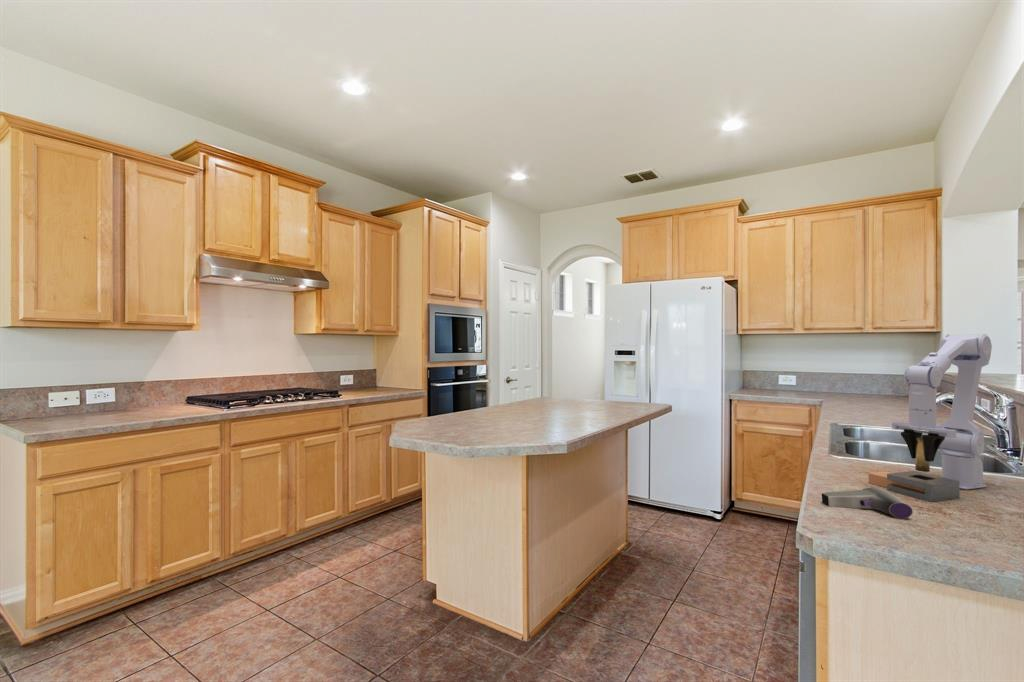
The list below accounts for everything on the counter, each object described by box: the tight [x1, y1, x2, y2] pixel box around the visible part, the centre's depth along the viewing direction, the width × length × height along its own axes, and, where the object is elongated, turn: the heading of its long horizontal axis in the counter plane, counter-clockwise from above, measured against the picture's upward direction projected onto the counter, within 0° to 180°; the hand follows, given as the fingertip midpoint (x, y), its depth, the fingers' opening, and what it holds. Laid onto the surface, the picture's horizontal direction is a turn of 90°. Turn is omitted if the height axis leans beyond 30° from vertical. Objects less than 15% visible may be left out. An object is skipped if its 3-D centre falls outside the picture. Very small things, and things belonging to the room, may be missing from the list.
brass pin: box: [914, 436, 931, 473], centre depth 133 cm, size 3×3×9 cm
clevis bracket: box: [886, 470, 961, 503], centre depth 133 cm, size 11×11×4 cm
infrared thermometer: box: [821, 486, 914, 519], centre depth 120 cm, size 5×12×15 cm
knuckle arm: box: [868, 471, 925, 492], centre depth 137 cm, size 7×16×3 cm, turn 18°
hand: (922, 459), depth 133 cm, fingers closed on brass pin, 3 cm apart
